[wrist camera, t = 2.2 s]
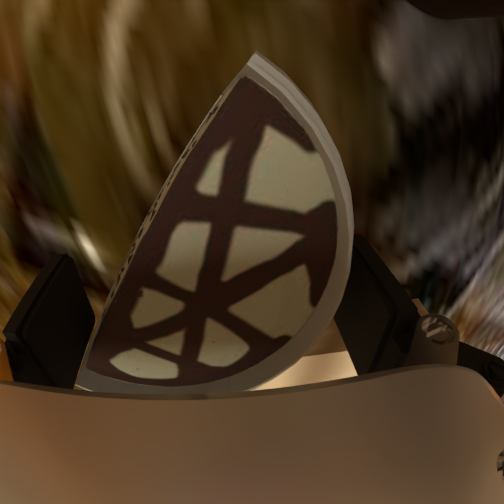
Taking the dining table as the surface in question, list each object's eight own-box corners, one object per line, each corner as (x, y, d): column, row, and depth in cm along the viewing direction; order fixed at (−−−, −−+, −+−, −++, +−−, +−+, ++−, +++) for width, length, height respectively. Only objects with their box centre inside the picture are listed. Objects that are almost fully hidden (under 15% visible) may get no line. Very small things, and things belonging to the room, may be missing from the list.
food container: (213, 293, 20) (211, 437, 11) (128, 251, 17) (73, 390, 9) (336, 136, 15) (459, 219, 6) (240, 67, 13) (266, 37, 4)
